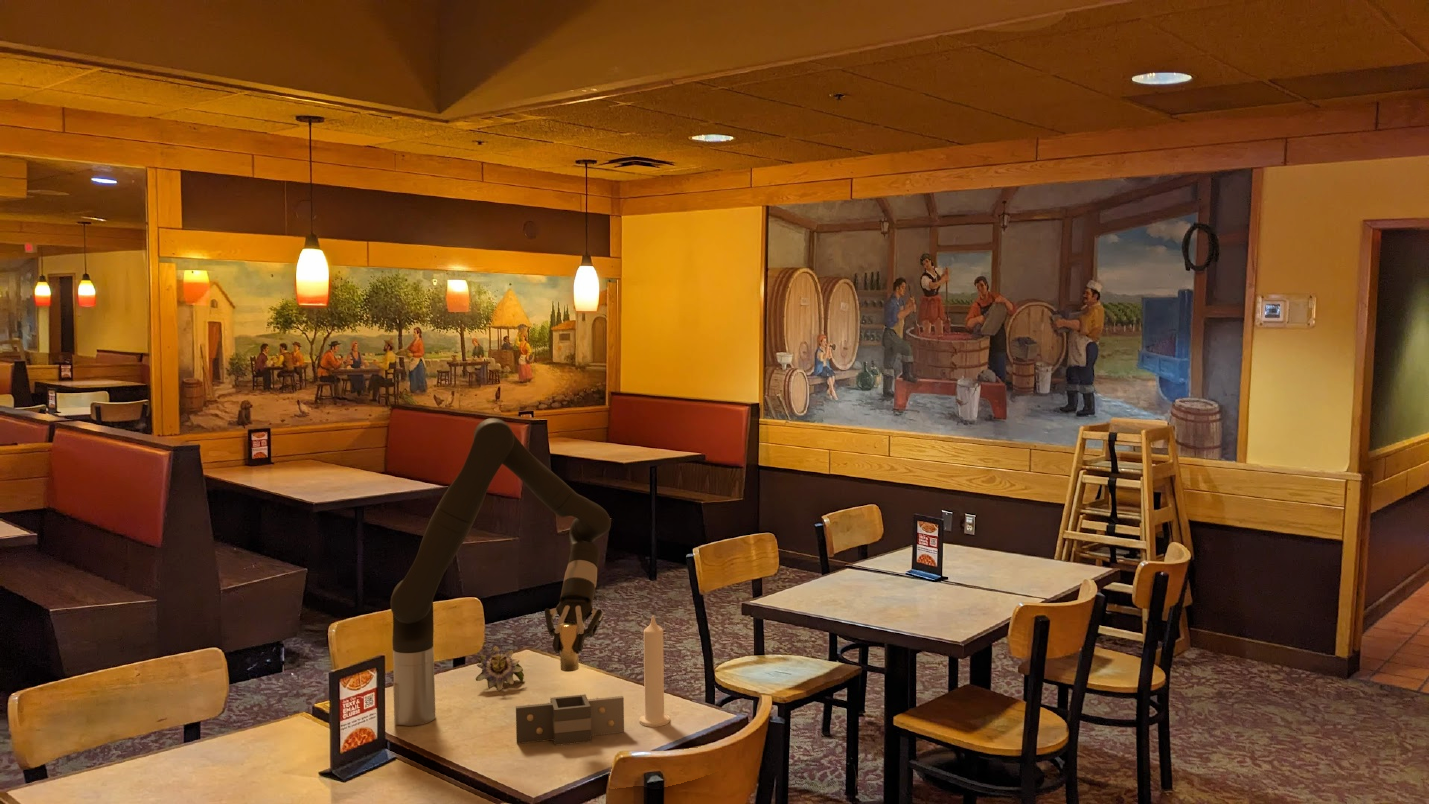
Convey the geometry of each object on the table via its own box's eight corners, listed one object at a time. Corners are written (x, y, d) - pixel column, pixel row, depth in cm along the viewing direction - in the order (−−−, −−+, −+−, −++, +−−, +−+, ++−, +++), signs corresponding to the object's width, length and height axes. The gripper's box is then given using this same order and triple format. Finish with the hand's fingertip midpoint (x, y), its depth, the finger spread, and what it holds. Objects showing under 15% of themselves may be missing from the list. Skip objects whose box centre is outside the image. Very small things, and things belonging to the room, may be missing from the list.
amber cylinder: (561, 672, 236) (560, 628, 236) (559, 666, 240) (558, 623, 240) (579, 670, 237) (578, 626, 237) (577, 665, 241) (576, 621, 241)
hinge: (518, 749, 233) (517, 713, 232) (515, 735, 241) (514, 701, 240) (626, 737, 239) (626, 702, 239) (620, 724, 247) (620, 691, 246)
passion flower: (500, 710, 272) (474, 680, 266) (488, 690, 281) (463, 660, 276) (536, 682, 275) (511, 651, 269) (523, 662, 284) (499, 632, 278)
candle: (675, 718, 251) (673, 613, 249) (660, 728, 244) (659, 621, 242) (648, 714, 254) (647, 610, 252) (633, 724, 247) (632, 618, 245)
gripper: (546, 575, 246) (531, 642, 235) (606, 576, 244) (595, 644, 233) (553, 592, 251) (539, 659, 240) (612, 593, 250) (601, 660, 238)
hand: (566, 651), depth 237 cm, fingers closed on amber cylinder, 4 cm apart
